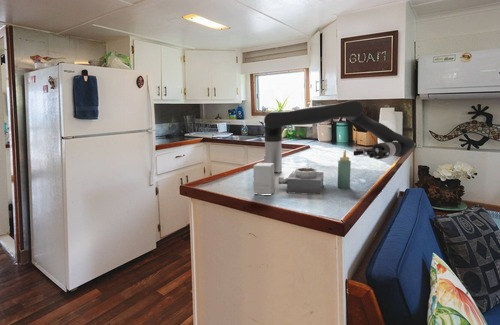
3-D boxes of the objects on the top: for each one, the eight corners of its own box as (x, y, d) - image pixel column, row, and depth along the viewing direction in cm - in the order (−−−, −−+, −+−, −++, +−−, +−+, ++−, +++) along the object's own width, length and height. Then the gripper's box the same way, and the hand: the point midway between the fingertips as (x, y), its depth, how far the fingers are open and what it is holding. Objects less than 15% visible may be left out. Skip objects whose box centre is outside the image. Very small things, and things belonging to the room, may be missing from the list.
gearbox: (275, 191, 133) (275, 172, 132) (282, 183, 148) (282, 165, 147) (320, 194, 128) (320, 174, 126) (323, 185, 143) (323, 166, 141)
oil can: (337, 188, 136) (338, 151, 133) (337, 185, 141) (338, 149, 138) (349, 189, 134) (351, 151, 131) (349, 186, 139) (351, 149, 136)
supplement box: (275, 191, 134) (275, 162, 132) (270, 196, 127) (270, 166, 125) (258, 190, 136) (258, 162, 134) (253, 195, 130) (252, 165, 127)
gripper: (370, 141, 155) (349, 145, 146) (397, 143, 143) (376, 147, 135) (370, 156, 156) (349, 160, 148) (397, 159, 144) (375, 164, 136)
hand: (361, 154), depth 141 cm, fingers open, 8 cm apart
